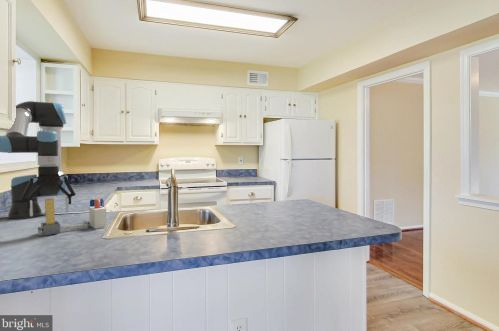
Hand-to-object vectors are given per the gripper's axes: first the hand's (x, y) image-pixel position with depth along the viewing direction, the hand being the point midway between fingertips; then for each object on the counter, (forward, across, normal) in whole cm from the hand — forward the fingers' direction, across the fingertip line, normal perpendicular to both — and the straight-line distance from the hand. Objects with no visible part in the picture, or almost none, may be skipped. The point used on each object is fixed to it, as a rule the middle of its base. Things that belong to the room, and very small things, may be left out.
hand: (49, 213), depth 132 cm
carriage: (+9, 0, 0) cm, 9 cm away
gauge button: (+4, +20, 0) cm, 20 cm away
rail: (+9, +5, 0) cm, 10 cm away
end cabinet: (+9, +20, 0) cm, 21 cm away
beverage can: (+9, +22, +11) cm, 26 cm away
